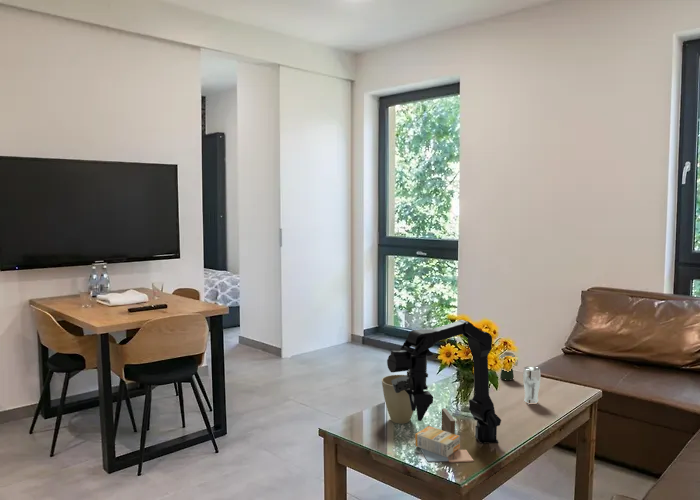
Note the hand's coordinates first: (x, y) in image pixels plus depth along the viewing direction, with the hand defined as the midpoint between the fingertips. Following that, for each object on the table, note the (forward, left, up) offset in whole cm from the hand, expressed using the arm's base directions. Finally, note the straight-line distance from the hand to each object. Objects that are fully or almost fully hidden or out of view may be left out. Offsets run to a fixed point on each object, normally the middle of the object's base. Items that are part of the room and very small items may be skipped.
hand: (416, 415), depth 181 cm
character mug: (-62, -77, -14) cm, 100 cm away
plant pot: (-1, -31, -14) cm, 34 cm away
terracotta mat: (-14, +2, -14) cm, 20 cm away
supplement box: (-4, -9, -11) cm, 15 cm away
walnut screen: (-14, -12, -14) cm, 23 cm away
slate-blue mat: (-8, 0, -14) cm, 16 cm away
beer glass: (-60, -45, -14) cm, 76 cm away
